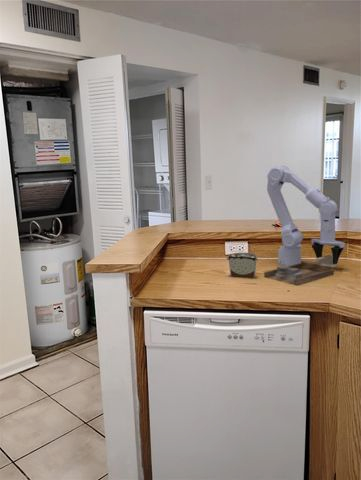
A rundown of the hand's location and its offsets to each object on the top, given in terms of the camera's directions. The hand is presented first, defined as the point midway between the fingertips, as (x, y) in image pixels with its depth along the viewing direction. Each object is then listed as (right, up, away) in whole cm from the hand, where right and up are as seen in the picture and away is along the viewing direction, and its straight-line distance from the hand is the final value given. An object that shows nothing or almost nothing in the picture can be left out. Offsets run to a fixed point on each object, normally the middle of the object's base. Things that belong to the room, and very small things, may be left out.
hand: (327, 262), depth 172 cm
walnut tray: (-15, -6, -10) cm, 18 cm away
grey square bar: (-19, -6, -13) cm, 24 cm away
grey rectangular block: (0, -4, +1) cm, 4 cm away
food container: (-35, -6, -6) cm, 36 cm away
